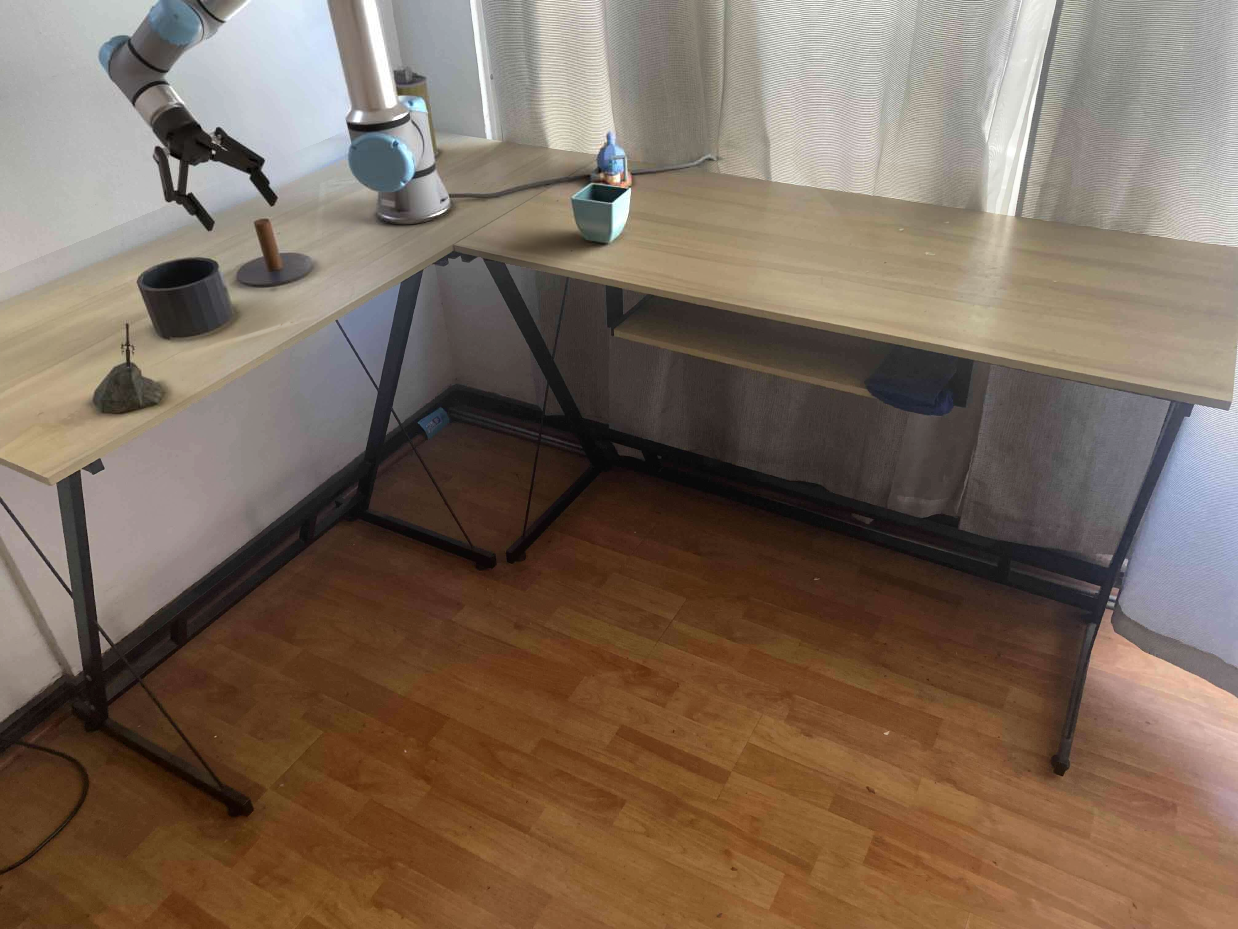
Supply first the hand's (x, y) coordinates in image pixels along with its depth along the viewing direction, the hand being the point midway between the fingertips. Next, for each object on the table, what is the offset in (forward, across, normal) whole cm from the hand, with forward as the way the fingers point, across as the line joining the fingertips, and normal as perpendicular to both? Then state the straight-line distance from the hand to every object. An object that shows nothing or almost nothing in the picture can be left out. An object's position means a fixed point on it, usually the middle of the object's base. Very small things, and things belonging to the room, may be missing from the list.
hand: (244, 214), depth 167 cm
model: (+29, -70, +14) cm, 78 cm away
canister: (-8, -62, -23) cm, 67 cm away
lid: (+10, 0, -4) cm, 11 cm away
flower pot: (+42, -44, +27) cm, 66 cm away
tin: (+14, +20, -1) cm, 24 cm away
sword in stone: (+23, +40, +8) cm, 47 cm away
